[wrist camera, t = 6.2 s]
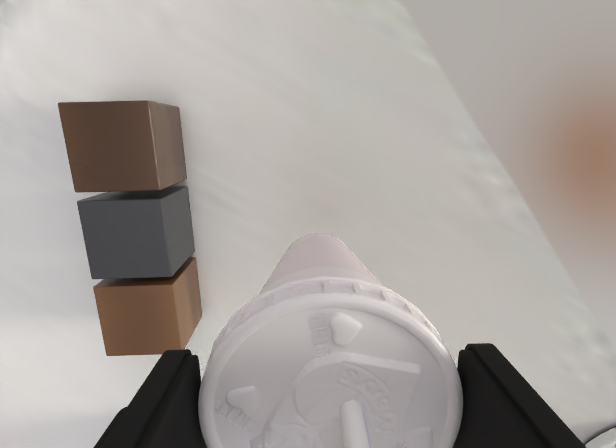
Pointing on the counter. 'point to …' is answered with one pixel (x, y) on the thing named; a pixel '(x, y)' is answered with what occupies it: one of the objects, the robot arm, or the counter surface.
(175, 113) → the walnut block
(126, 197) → the charcoal block
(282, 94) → the counter surface
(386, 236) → the counter surface
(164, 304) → the oak block
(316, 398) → the smoothie
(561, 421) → the robot arm
